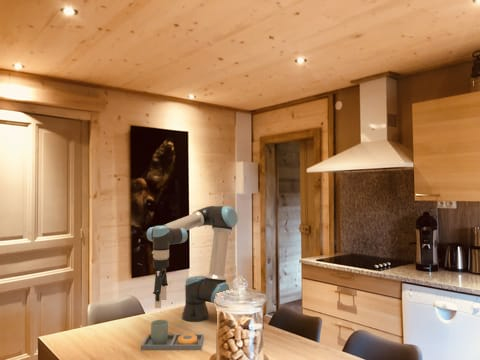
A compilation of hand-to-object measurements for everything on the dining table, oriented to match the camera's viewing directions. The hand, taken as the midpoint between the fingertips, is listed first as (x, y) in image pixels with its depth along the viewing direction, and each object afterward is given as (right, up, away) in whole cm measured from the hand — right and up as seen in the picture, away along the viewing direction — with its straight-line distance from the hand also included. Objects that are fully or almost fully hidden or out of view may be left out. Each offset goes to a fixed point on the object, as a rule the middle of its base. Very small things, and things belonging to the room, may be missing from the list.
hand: (160, 303), depth 183 cm
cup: (0, -18, -2) cm, 19 cm away
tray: (+6, -19, -2) cm, 20 cm away
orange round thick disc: (+13, -18, -2) cm, 22 cm away
